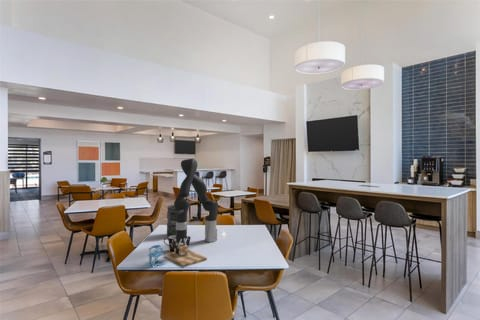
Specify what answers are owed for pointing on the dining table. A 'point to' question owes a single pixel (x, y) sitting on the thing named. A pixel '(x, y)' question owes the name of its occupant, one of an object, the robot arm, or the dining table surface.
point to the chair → (155, 255)
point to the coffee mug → (171, 242)
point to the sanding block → (182, 250)
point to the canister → (172, 220)
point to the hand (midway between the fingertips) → (181, 252)
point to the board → (186, 258)
